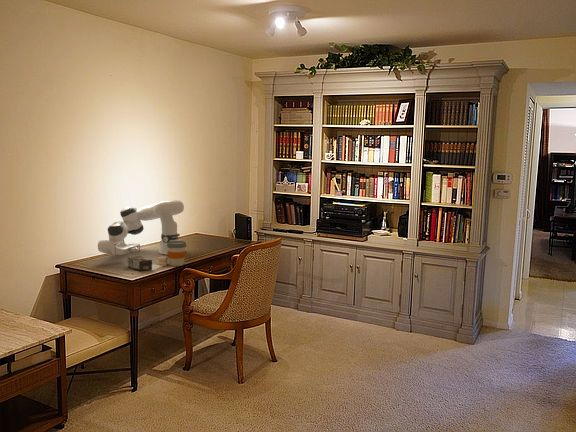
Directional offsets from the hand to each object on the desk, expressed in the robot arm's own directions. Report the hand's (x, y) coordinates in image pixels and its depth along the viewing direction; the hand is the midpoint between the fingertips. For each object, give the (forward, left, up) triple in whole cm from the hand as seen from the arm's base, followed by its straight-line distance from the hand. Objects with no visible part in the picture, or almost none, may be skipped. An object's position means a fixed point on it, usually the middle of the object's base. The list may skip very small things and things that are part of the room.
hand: (138, 249), depth 343 cm
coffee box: (+1, -3, -8) cm, 8 cm away
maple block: (-11, +12, -11) cm, 19 cm away
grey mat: (0, +7, -11) cm, 13 cm away
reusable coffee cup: (-14, +20, -11) cm, 27 cm away
